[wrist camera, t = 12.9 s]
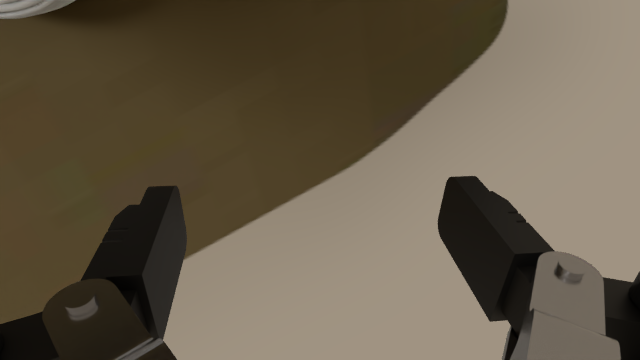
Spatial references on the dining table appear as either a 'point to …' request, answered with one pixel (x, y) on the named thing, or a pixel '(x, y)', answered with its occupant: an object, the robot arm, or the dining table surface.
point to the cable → (29, 7)
